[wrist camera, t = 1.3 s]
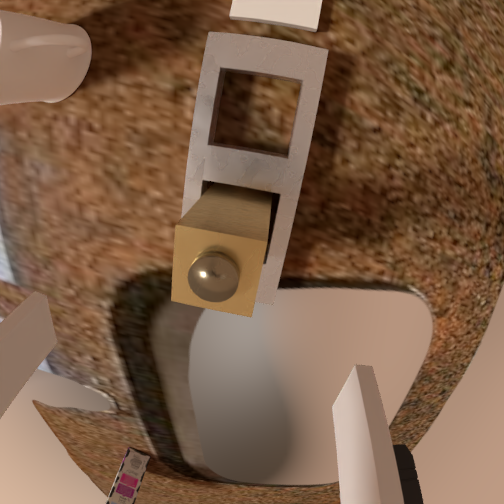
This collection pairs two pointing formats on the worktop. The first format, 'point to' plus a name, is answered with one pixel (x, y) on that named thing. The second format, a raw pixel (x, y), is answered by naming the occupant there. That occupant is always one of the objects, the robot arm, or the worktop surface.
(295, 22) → the pad
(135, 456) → the candy bar box
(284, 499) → the worktop surface
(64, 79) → the mug
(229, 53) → the rail plate
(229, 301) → the brass block
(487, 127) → the worktop surface
